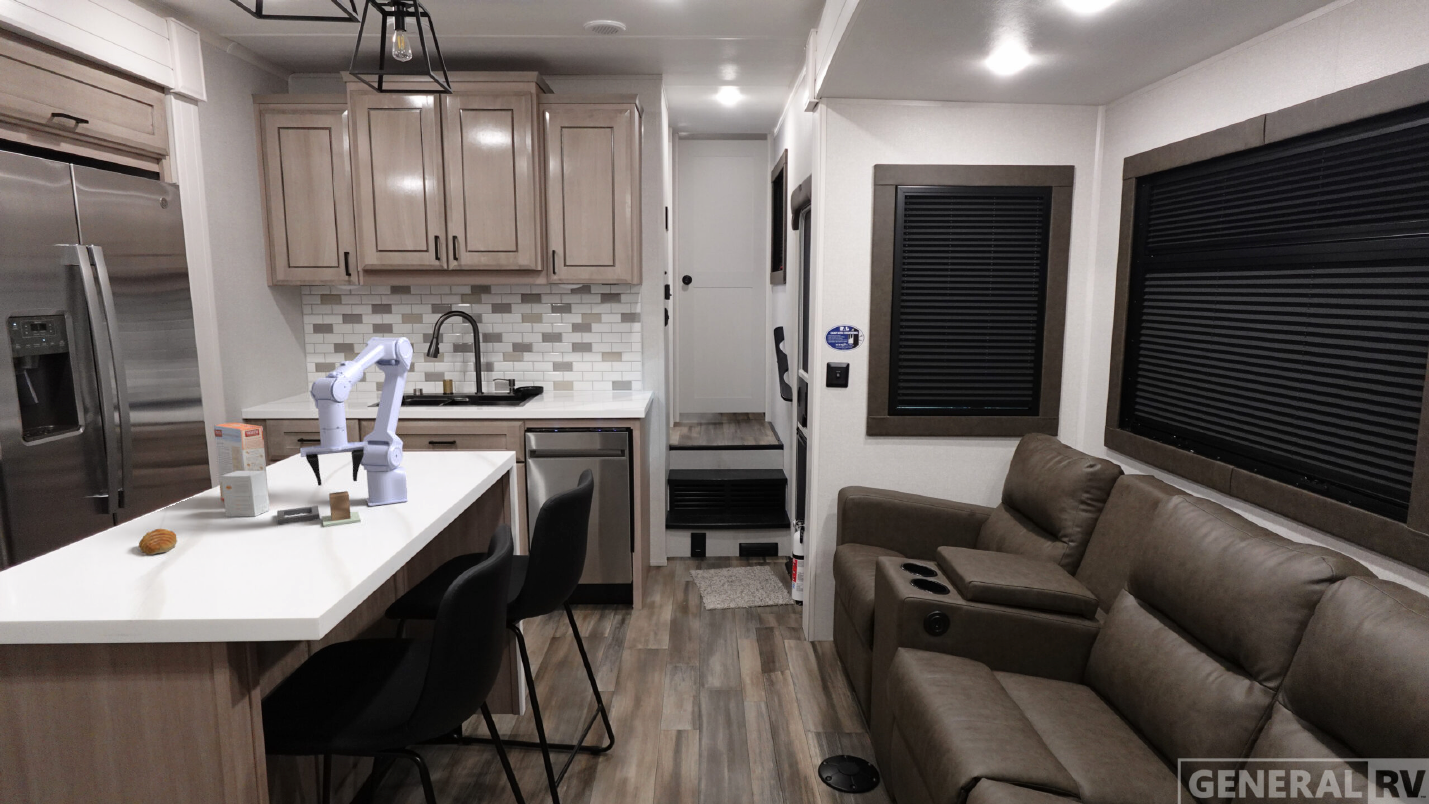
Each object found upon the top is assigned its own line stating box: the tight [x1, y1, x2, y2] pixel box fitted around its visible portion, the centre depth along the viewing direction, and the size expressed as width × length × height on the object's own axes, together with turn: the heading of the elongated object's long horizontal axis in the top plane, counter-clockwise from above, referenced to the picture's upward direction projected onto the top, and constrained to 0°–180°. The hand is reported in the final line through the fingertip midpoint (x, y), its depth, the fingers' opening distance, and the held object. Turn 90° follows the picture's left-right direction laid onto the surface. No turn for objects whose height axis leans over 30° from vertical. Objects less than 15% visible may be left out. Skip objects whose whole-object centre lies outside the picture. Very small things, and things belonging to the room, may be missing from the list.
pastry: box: [138, 528, 178, 556], centre depth 162 cm, size 9×7×4 cm
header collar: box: [276, 505, 320, 525], centre depth 185 cm, size 9×9×1 cm
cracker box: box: [213, 422, 269, 502], centre depth 198 cm, size 14×6×21 cm, turn 58°
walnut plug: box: [328, 490, 351, 521], centre depth 182 cm, size 4×4×6 cm
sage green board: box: [321, 511, 362, 528], centre depth 182 cm, size 8×8×1 cm
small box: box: [221, 471, 271, 517], centre depth 188 cm, size 8×6×10 cm
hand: (337, 482), depth 181 cm, fingers open, 7 cm apart
